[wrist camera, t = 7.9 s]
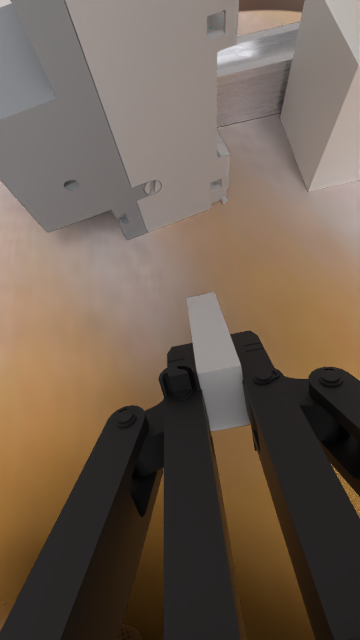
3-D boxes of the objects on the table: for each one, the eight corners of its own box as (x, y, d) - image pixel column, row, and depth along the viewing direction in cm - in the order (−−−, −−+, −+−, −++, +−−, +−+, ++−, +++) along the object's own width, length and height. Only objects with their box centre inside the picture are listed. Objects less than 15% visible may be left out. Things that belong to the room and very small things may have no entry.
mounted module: (341, 104, 26) (416, -88, 16) (375, 177, 24) (488, 3, 14) (279, 118, 26) (318, -63, 17) (308, 192, 24) (372, 31, 14)
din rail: (379, 45, 28) (421, -53, 22) (407, 95, 26) (461, 2, 20) (42, 125, 29) (-1, 52, 23) (45, 178, 27) (-1, 113, 21)
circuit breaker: (31, 193, 27) (-177, -69, 13) (193, 133, 27) (168, -192, 13) (50, 268, 24) (-181, 51, 10) (227, 202, 24) (244, -103, 10)
